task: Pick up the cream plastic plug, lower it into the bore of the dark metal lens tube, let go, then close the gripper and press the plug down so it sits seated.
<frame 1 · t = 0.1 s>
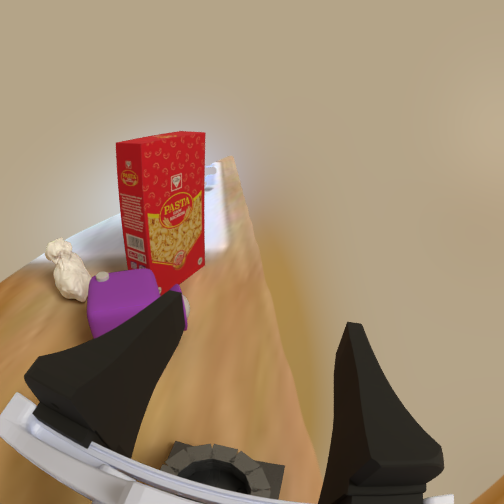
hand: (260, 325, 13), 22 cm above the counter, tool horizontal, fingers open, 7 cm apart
food packaging: (170, 279, 55), on the counter
toy camera: (144, 340, 41), on the counter
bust: (75, 292, 49), on the counter
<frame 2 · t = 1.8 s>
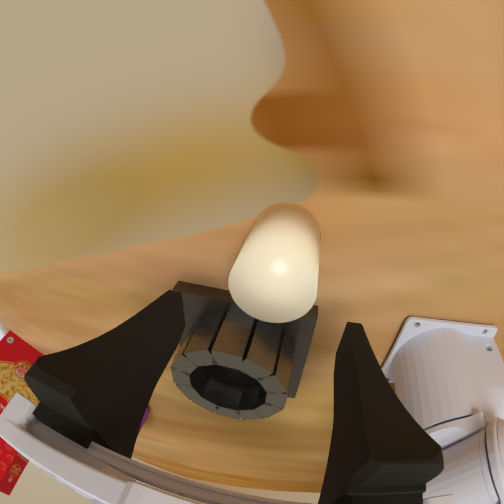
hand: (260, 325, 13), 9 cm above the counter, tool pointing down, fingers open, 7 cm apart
food packaging: (41, 358, 42), on the counter
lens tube: (243, 342, 26), on the counter
plug: (286, 234, 20), on the counter
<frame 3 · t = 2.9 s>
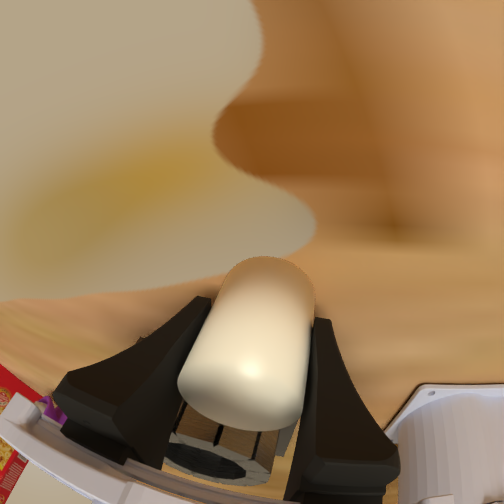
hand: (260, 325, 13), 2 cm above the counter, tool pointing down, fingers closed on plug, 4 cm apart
food packaging: (21, 384, 37), on the counter
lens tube: (221, 403, 21), on the counter
plug: (268, 296, 15), on the counter, touching gripper
toy camera: (85, 414, 33), on the counter
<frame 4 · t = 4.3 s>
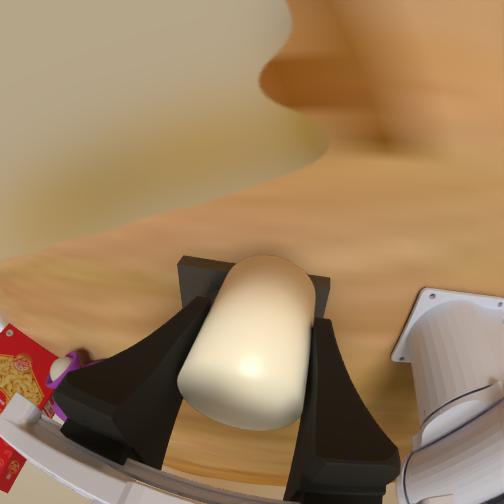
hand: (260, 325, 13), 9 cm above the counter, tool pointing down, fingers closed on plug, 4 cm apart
food packaging: (41, 351, 41), on the counter
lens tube: (251, 321, 25), on the counter
plug: (269, 295, 15), point 7 cm above the counter, touching gripper
toy camera: (108, 372, 37), on the counter
when the fingers open (6 cm above the counter, at t = 5.8 s): plug drops 1 cm, resting on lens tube.
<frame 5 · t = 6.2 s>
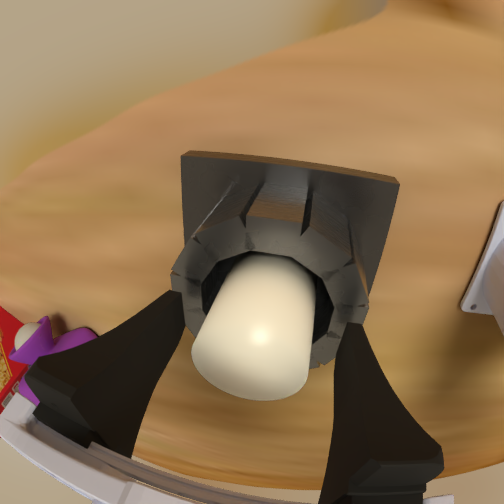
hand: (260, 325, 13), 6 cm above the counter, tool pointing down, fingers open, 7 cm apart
food packaging: (15, 325, 34), on the counter
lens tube: (281, 251, 18), on the counter
plug: (274, 276, 16), point 3 cm above the counter, touching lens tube
toy camera: (88, 346, 30), on the counter
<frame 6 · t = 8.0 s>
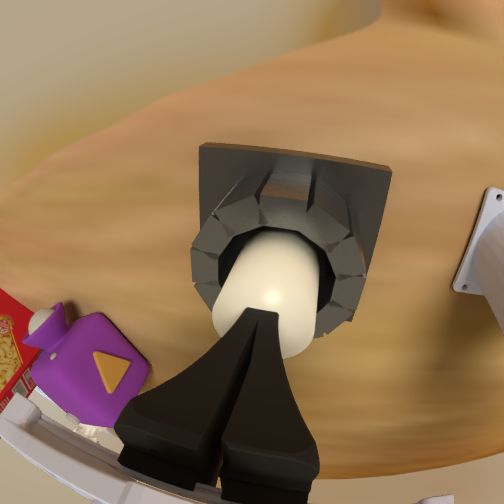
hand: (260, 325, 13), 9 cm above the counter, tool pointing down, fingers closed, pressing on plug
food packaging: (25, 315, 36), on the counter
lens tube: (287, 234, 20), on the counter
plug: (282, 253, 18), point 3 cm above the counter, touching gripper, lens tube
toy camera: (99, 332, 32), on the counter
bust: (102, 397, 42), on the counter
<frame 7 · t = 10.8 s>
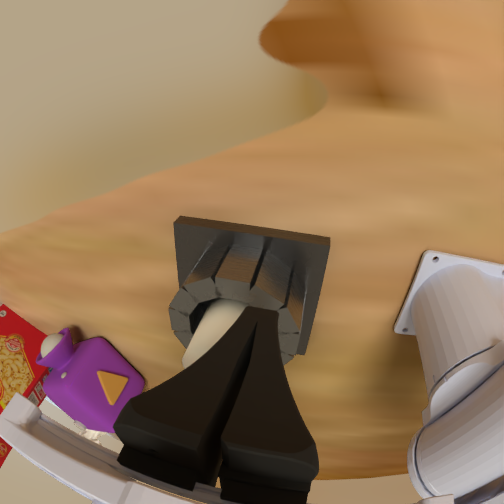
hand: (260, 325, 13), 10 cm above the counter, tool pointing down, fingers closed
food packaging: (34, 333, 41), on the counter
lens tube: (248, 287, 25), on the counter
plug: (240, 308, 23), point 3 cm above the counter, touching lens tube
toy camera: (101, 351, 37), on the counter
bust: (104, 404, 47), on the counter
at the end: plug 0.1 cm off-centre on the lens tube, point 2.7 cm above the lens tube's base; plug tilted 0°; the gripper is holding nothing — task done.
